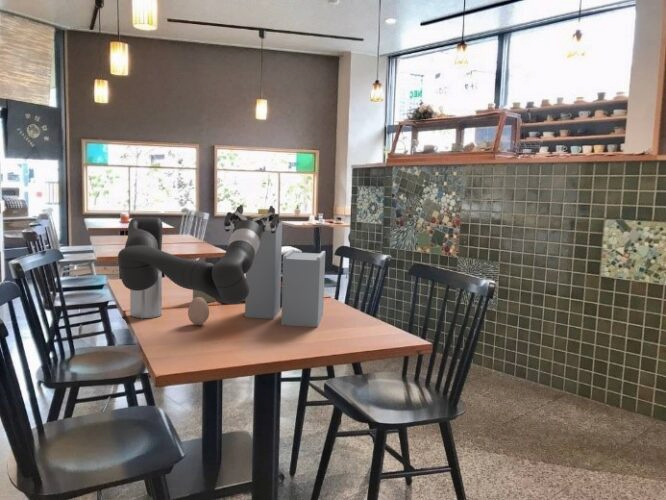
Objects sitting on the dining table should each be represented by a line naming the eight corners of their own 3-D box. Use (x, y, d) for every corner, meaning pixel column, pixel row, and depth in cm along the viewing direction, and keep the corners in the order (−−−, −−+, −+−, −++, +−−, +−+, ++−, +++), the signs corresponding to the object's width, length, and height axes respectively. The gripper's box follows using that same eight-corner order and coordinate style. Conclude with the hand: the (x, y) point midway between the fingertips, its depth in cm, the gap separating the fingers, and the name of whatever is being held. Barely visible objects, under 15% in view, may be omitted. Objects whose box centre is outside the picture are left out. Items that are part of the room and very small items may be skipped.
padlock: (216, 301, 210) (216, 263, 208) (195, 303, 206) (195, 264, 204) (212, 299, 214) (213, 261, 212) (192, 301, 210) (192, 262, 208)
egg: (188, 328, 171) (188, 299, 170) (187, 322, 178) (187, 295, 177) (209, 327, 173) (209, 299, 172) (208, 322, 179) (208, 294, 178)
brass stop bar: (263, 227, 174) (263, 211, 174) (247, 226, 175) (248, 211, 174) (274, 223, 194) (275, 209, 194) (260, 222, 195) (261, 208, 194)
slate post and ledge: (317, 327, 178) (321, 229, 174) (239, 322, 180) (241, 226, 176) (323, 313, 197) (326, 225, 194) (252, 309, 199) (254, 222, 196)
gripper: (271, 230, 138) (280, 197, 151) (215, 228, 139) (230, 195, 152) (273, 254, 142) (282, 220, 155) (219, 251, 143) (233, 218, 156)
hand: (256, 208), depth 153 cm, fingers open, 8 cm apart
